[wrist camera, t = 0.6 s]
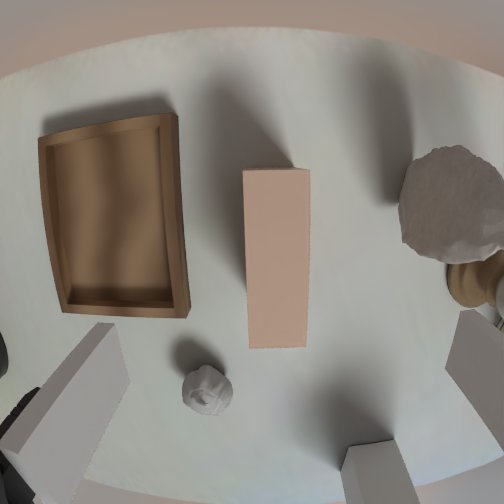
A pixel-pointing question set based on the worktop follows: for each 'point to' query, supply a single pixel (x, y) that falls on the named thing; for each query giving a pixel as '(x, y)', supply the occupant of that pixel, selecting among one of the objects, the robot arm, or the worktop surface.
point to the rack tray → (116, 218)
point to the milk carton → (377, 475)
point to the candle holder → (479, 282)
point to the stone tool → (452, 206)
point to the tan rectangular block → (277, 255)
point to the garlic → (207, 391)
